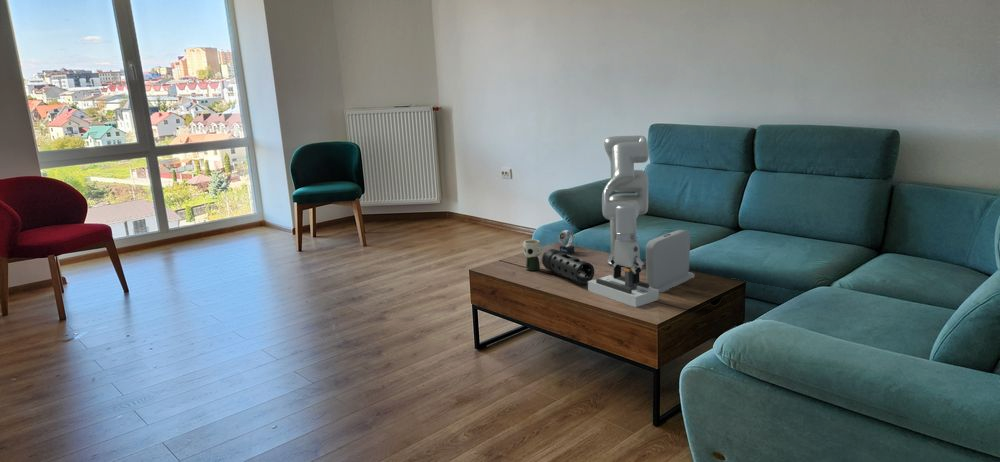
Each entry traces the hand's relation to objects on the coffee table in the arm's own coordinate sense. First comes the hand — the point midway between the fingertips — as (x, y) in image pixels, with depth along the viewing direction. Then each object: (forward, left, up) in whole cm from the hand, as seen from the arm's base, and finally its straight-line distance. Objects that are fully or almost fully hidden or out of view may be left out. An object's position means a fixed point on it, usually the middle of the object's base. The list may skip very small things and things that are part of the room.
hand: (626, 280), depth 253 cm
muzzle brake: (+1, -34, -7) cm, 35 cm away
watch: (-25, -65, -7) cm, 70 cm away
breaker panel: (0, -2, -7) cm, 7 cm away
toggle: (0, +2, -2) cm, 3 cm away
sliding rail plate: (0, -2, -3) cm, 3 cm away
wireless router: (-25, -1, -7) cm, 26 cm away
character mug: (+4, -54, -7) cm, 55 cm away
